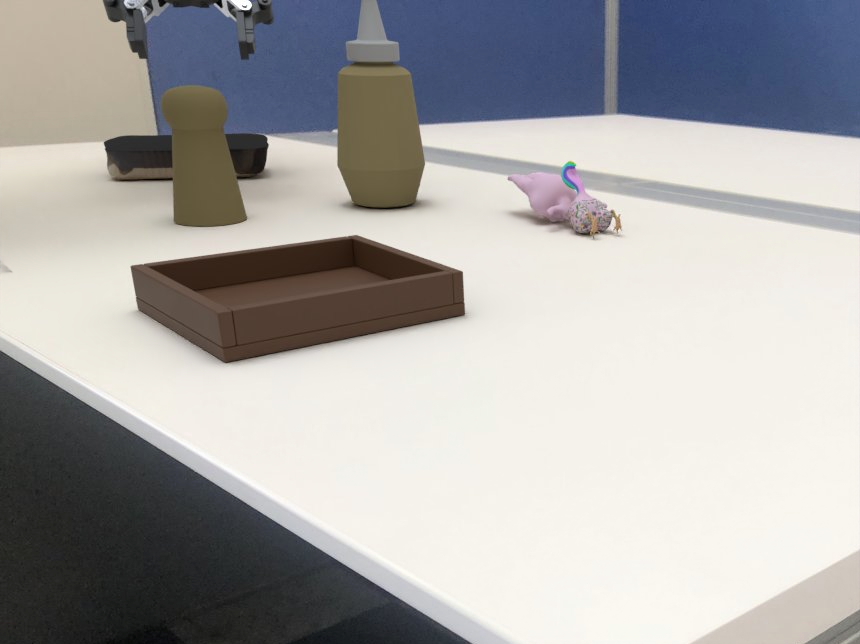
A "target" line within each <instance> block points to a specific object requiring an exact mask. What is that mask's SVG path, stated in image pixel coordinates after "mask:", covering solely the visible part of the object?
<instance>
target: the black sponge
mask: <svg viewBox="0 0 860 644" xmlns="http://www.w3.org/2000/svg"><path fill="white" fill-rule="evenodd" d="M225 136H226V140H227V144H228V148H229V151H230V155H231V159H232V162H233V166H234V170H235V174H236V177H237V178H244V177H245V178H247V177H254V176H257V175H260V174H261V173H262V172H264V169H265V168H266V164H267V159H268V158H267V157H268V149H269V147H270V144H269V142H268V139H269V138H268V137H267V136H266V135H265V134H261V133H251V132H250V133H249V132H248V133H247V132H245V133H241V132H240V133H225ZM103 145H104V150H105V153H106V168H107V172H108V174H109V176H111V177H112V178H115V179H116V180H151V179H152V180H153V179H155V180H156V179H159V180H161V179H173V164H172V134H156V135H153V134H152V135H151V134H150V135H147V134H146V135H141V134H140V135H136V134H135V135H133V134H132V135H130V134H127V135H119V136H116V137H112V138H109V139H107V140H105V141H103Z"/></svg>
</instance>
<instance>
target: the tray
mask: <svg viewBox="0 0 860 644" xmlns="http://www.w3.org/2000/svg"><path fill="white" fill-rule="evenodd" d="M130 273H131V277H132V284H133V288H134V295H135V301H136V306H137V310H139V311H141V312H142V313H144V314H145V315H147V316H149V317H150V318H152V319H153V320H155V321H156V322H158V323H160V324H162V325H163V326H164V327H166V328H168V329H170V330H171V331H173V332H175V333H176V334H178V335H180V336H181V337H183V338H185V339H186V340H188V341H189V342H191V343H193V344H194V345H196V346H198V347H199V348H200V349H203V350H204V351H206V352H207V353H209V354H210V355H213V356H214V357H216V358H217V359H219V360H220V361H222V362H224V363H228V362H229V363H230V362H234V361H239V360H244V359H249V358H254V357H260V356H263V355H269V354H274V353H279V352H283V351H289V350H293V349H300V348H303V347H309V346H314V345H319V344H320V345H321V344H325V343H329V342H334V341H340V340H345V339H349V338H354V337H359V336H365V335H368V334H374V333H379V332H385V331H389V330H394V329H400V328H405V327H409V326H414V325H418V324H419V325H420V324H423V323H429V322H434V321H438V320H439V321H441V320H444V319H449V318H454V317H460V316H464V315H466V306H465V305H466V304H465V289H464V287H465V286H464V271H463V270H460V269H456V268H454V267H452V266H448V265H446V264H442V263H440V262H437V261H434V260H431V259H427V258H425V257H422V256H419V255H416V254H413V253H410V252H407V251H405V250H403V249H402V250H401V249H399V248H396V247H393V246H390V245H387V244H384V243H381V242H378V241H375V240H372V239H370V238H367V237H364V236H361V235H358V234H352V235H346V236H338V237H331V238H322V239H316V240H309V241H302V242H294V243H287V244H286V243H285V244H280V245H279V244H278V245H272V246H263V247H257V248H250V249H249V248H248V249H243V250H235V251H228V252H219V253H213V254H206V255H205V254H204V255H198V256H191V257H184V258H177V259H168V260H161V261H160V260H159V261H153V262H147V263H140V264H139V263H138V264H133V265H130Z"/></svg>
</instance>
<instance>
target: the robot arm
mask: <svg viewBox="0 0 860 644" xmlns="http://www.w3.org/2000/svg"><path fill="white" fill-rule="evenodd" d="M102 3H103V6H104V7H103V8H104V10H105V13H106V16H107V19H108V20H109V22H112V23H119V22H122V21H123V22H125V31H126V40H127V42H128V43H127V44H128V46H129V49H130V50H131V52H132V54H133V53H134V54H137V57H138V59H139V60H148V59H149V50H148V47H149V46H148V31H147V30H148V29H147V25H146V24H147V23H148V22H149V21H150V20H151V19H152V17H154V16H155V17H159V16H160V15H161V14H163V12H164V11H165V10H166V9H167V8H169V6H170V5H172V8H188V7H195V8H199V9H200V8H201V9H210V6H212V5H213V6H214V7H215V8H217V9H218V11H220V12H221V13H222V14H223V15H224V16H225V17H226V18H231V19H232V20H233V21H234V22H235V23H236V30H237V31H236V32H237V42H238V47H239V55H240V60H242V61H249V60H250V55H255V53H256V51H257V43H256V33H255V27H256V26H257V25H258V24H261V23H262V24H263V25H267V26H269V25H272V24H274V22H275V16H274V11H273V0H254V1H250V0H102Z"/></svg>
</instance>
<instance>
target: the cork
mask: <svg viewBox="0 0 860 644" xmlns="http://www.w3.org/2000/svg"><path fill="white" fill-rule="evenodd" d="M160 109H161V114H162V116H163V119H164V121H165V122H166V124H168V126H169V127H170V128H171V135H172V164H173V178H172V203H173V204H172V205H173V207H172V208H173V209H172V210H173V222H174V223H175V224H177V225H180V226H187V227H188V226H189V227H216V226H217V227H218V226H228V225H235V224H238V223H242V222H245V221H247V219H248V215H247V212H246V208H245V204H244V199H243V197H242V192H241V189H240V185H239V181H238V177H236V174H235V170H234V166H233V162H232V159H231V155H230V151H229V148H228V144H227V140H226V136H225V134H226V133H225V129H224V127H225V124H226V122H227V121H228V116H229V110H228V103H227V100H226V98H225V96H224V95H223V93H222V92H221V91H220V90H218V89H216V88H214V87H210V86H205V85H196V84H195V85H193V84H192V85H191V84H190V85H187V84H186V85H179V86H174V87H172V88H168V89H167V90H165V91H164V92H163V94H162V96H161V99H160Z"/></svg>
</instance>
